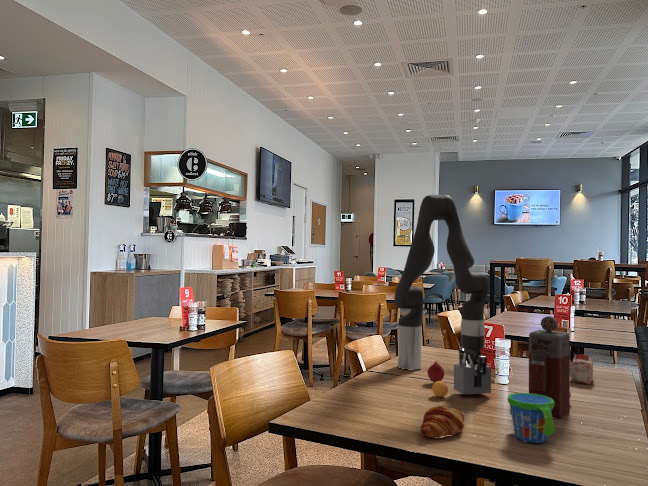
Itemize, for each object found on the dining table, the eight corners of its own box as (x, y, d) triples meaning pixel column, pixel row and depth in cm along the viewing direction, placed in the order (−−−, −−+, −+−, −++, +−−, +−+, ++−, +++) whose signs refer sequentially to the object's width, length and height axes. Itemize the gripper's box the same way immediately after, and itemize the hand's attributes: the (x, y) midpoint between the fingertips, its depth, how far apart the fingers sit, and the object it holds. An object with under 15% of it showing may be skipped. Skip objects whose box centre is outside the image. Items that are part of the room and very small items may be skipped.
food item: (593, 386, 179) (593, 358, 179) (568, 383, 182) (568, 356, 183) (593, 378, 191) (593, 352, 191) (570, 375, 194) (570, 350, 195)
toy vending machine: (525, 414, 145) (525, 316, 146) (538, 405, 153) (538, 313, 154) (558, 421, 139) (558, 319, 140) (569, 412, 147) (569, 316, 148)
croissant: (451, 431, 140) (440, 403, 143) (483, 421, 135) (470, 392, 137) (414, 451, 124) (401, 419, 126) (448, 441, 118) (434, 407, 121)
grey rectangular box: (453, 389, 166) (453, 364, 166) (480, 387, 168) (480, 363, 169) (463, 394, 160) (463, 368, 160) (490, 393, 162) (491, 367, 162)
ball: (429, 395, 163) (429, 379, 164) (443, 394, 165) (443, 379, 165) (436, 399, 159) (436, 383, 159) (450, 398, 160) (450, 382, 160)
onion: (445, 386, 175) (446, 363, 176) (429, 385, 176) (429, 362, 176) (442, 381, 181) (442, 359, 182) (426, 381, 181) (426, 359, 182)
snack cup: (497, 428, 132) (497, 389, 132) (536, 428, 133) (536, 389, 133) (524, 451, 117) (524, 407, 117) (568, 451, 117) (568, 407, 117)
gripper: (451, 330, 171) (451, 379, 170) (473, 336, 157) (473, 390, 156) (471, 329, 172) (471, 378, 172) (494, 336, 158) (494, 389, 158)
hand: (472, 384), depth 164 cm, fingers closed on grey rectangular box, 6 cm apart
